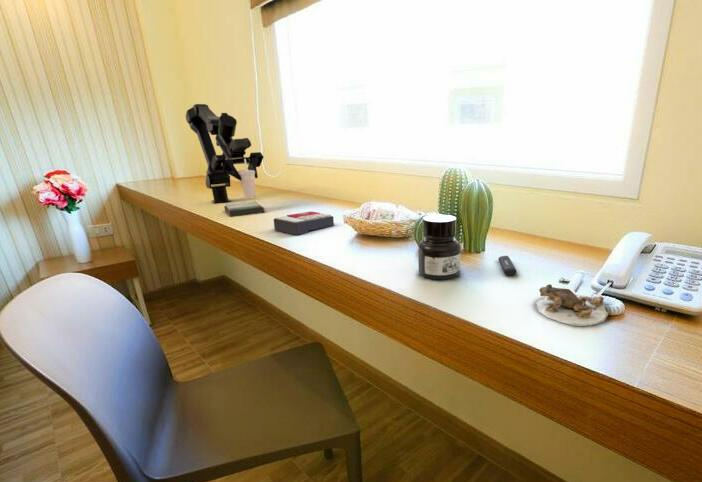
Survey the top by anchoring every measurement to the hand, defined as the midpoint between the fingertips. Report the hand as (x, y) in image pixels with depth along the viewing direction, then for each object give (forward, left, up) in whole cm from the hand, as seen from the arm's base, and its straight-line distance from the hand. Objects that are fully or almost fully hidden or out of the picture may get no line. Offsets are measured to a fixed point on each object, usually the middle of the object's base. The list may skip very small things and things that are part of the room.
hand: (248, 178), depth 146 cm
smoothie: (-1, 0, -7) cm, 7 cm away
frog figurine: (+122, +27, -12) cm, 125 cm away
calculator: (+38, +8, -12) cm, 40 cm away
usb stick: (+101, +33, -12) cm, 107 cm away
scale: (-1, -3, -12) cm, 13 cm away
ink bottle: (+95, +19, -12) cm, 97 cm away
